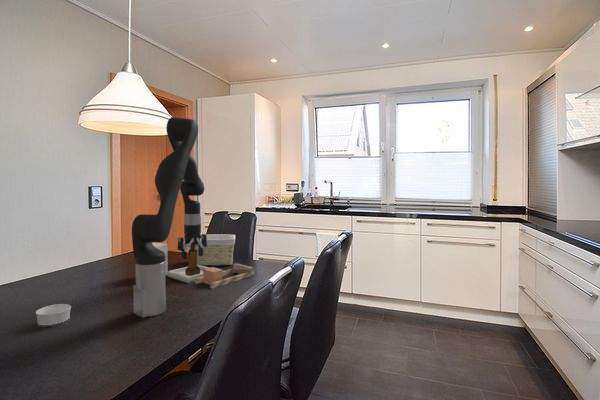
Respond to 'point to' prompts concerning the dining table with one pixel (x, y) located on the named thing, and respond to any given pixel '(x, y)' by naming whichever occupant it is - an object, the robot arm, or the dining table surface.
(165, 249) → the supplement box
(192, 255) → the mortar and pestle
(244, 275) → the rail
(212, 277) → the orange brown block
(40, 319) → the ramekin
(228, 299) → the dining table surface
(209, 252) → the storage basket
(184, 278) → the tray
